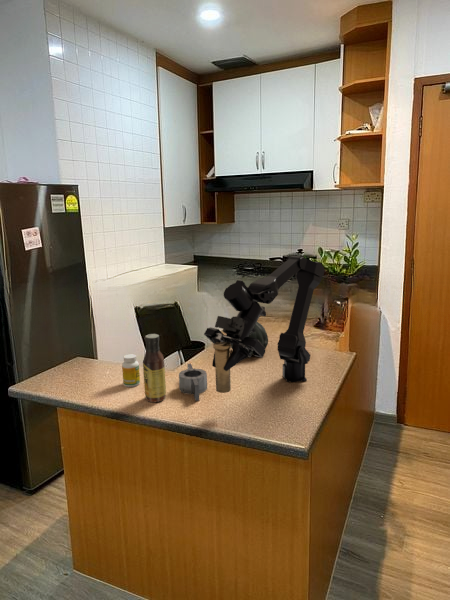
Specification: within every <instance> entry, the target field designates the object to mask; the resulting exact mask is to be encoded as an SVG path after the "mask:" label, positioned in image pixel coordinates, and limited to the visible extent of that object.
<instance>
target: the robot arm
mask: <svg viewBox="0 0 450 600" xmlns="http://www.w3.org/2000/svg"><path fill="white" fill-rule="evenodd" d="M324 275H325V267H324V266H323V264H322V263H321V262H320V261H313V260H311V259H308V258H305V257H304V256H300V255H299V256H298V255H297V256H296V255H291V256H289V257H288V258H287V260H286V261H284V262H283V263H282V264H281V265H280V266H278V267H277V268H276V269H274V271H273V272H271V273H270V274H268V275H267V276H266V277H262V278H258V279H256V280H255V281H253V282H251V283H250V284H249V285H248V286H247V285H246V283H245V282H244V281H243V280H242V279H241V280H240V279H237V280H236V281H235V283H232V284H230V285H228V287H226V288H225V289H224V291H223V298H224V299H225V300H226V301H227V302H228V304H230V305H231V307H232V308H233V309H234V310H235V311H237V312H238V313H237V315H236V316H232V317H230V318H229V317H227V316H221V315H217V317H216V321H215V323H214V327H211V326H210V327H207V328H206V330H205V331H204V332H203V335H204V336H205V337H206V338H207V339H209V341H210V342H211V343H212V344H214V343H216V342H229V343H231V344H233V349H232V351H231V352H230V357H229V359H228V360H227V362H226V364H225V367H224V370H225V371H228V370H229V369H230V370H231V368H233V367H235V366H236V365H238V364H239V363H240V362H242V361H244V360H246V359H247V358H251V357H252V356H251V355H250V353H251V351H252V350H253V354H254V355H253V356H255V357H258V358H264V355H265V353H266V349H265V347H264V346H263V345H262V343H261V342H260V341H259V340H258V339H256V338H252V337H249V335H250V333H254V332H255V329H254V326H255V324H256V322H259V318H260V317H266V316H267V312H266V308H265V306H262V305H261V304H267V305H269V304H271V303H273V301H274V300H275V299H276V298H277V296H278V295H279V291H280V288H282V287H283V286H284V285H285V284H286V283H287V282H288V281H290V279H291V278H293V277H294V276H295V279H296V282H297V285H298V287H297V292H296V295H295V300H294V302H293V303H294V304H293V309H292V312H291V316H290V320H289V324H288V328H287V330H285V332H281V333H280V334H279V339H278V342H277V344H276V345H277V352H278V355H279V360H282V361H284V363H282V377H283V378H284V379H285V381H286V382H287V383H293V382H296V383H297V382H306V381H307V378H306V365H307V364H308V363H309V362H310V360H311V353H310V352H309V351H308V350H307V349H306V345H307V342H306V338H305V335H304V331H305V326H306V322H307V319H308V314H309V311H310V306H311V303H312V297H313V293H314V291H315V289H317V287H318V286H319V285H320V283H321V282H322V280H323V277H324ZM260 303H261V304H260ZM218 328H220V329H222V331H221V330H220V329H218ZM212 367H214V368H215V351H214V353H213V359H212Z"/></svg>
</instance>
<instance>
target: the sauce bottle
mask: <svg viewBox="0 0 450 600" xmlns="http://www.w3.org/2000/svg"><path fill="white" fill-rule="evenodd" d="M144 336H145V337H144V341H145V346H146V347H145V348H146V349H145V354H144V357H143V360H142V370H143V384H144V385H143V386H144V395H145V399H146V401H147V402H150V403H159V402H162V401H164V400H165V398H166V397H167V390H166V387H167V385H166V371H165V370H166V367H165V358H164V354H163V353H162V352H161V350H160V335H159V334H157V333H149V334H147V335H144Z"/></svg>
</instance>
